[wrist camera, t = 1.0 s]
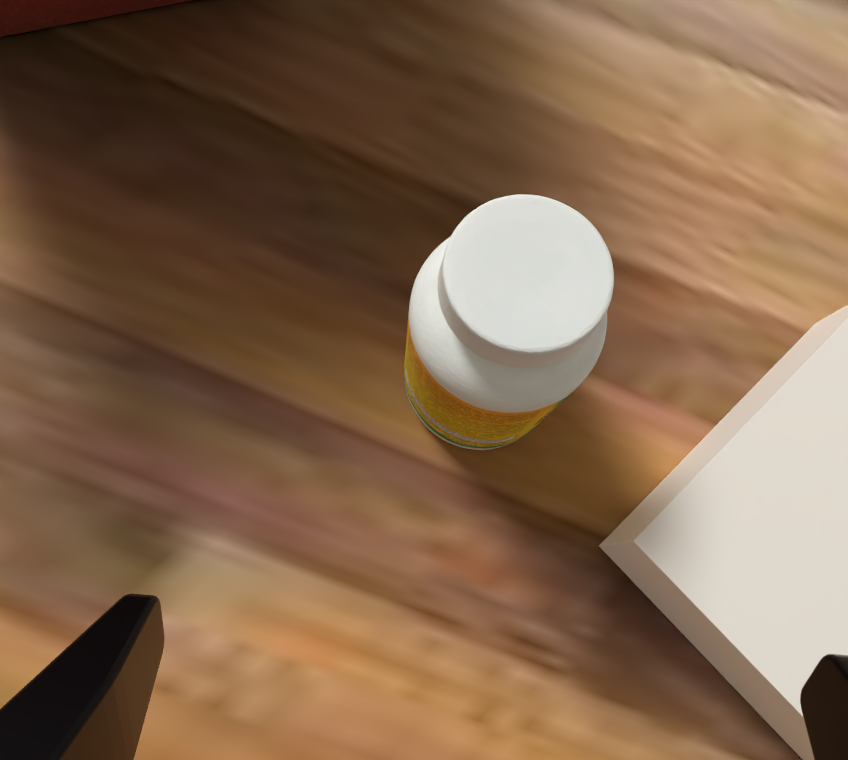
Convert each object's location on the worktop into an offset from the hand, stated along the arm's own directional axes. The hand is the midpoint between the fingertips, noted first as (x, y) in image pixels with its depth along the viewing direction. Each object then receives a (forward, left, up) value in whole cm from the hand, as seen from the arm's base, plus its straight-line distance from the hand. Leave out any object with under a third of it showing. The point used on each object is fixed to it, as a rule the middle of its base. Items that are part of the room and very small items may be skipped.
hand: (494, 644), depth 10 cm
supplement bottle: (+4, -6, -14) cm, 16 cm away
